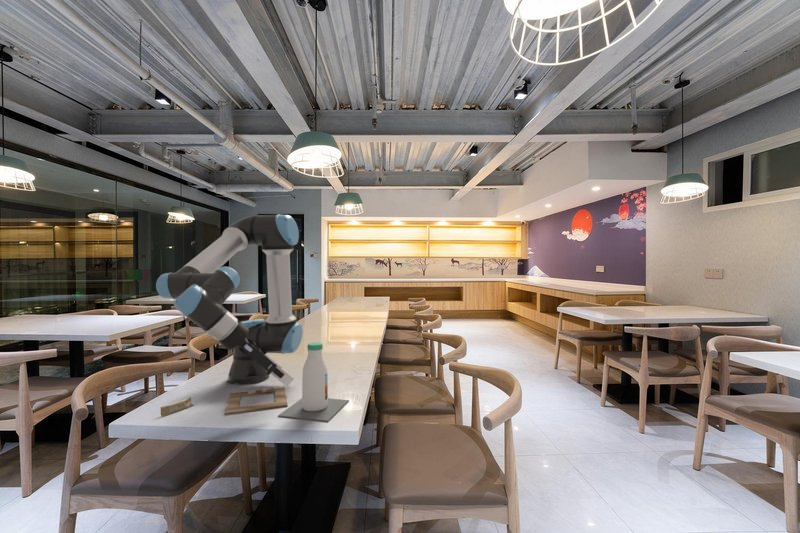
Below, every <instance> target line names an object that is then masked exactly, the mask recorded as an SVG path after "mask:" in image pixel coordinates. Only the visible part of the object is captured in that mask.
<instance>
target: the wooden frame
mask: <svg viewBox="0 0 800 533" xmlns="http://www.w3.org/2000/svg"><path fill="white" fill-rule="evenodd" d="M269 394H274V399H275V402H273V401H272V402H266V403H260V404H252V405H244V406H240V402H241V398H244V397H250V396H252V397H253V396H259V395H269ZM226 404H227V405H226V408H225V412H224V415H225V416H228V415H234V414H242V413H248V412H256V411H258V412H259V411H263V410H271V409H278V408H284V407H285V408H286V407H288V400H287V393H286V386H282V387H281V386H280V387H271V388H263V389H255V390H253V389H252V390H247V391H238V392H237V391H236V392H230V394H229V397H228V400H227V403H226ZM227 414H228V415H227Z"/></svg>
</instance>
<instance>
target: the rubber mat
mask: <svg viewBox="0 0 800 533" xmlns="http://www.w3.org/2000/svg"><path fill="white" fill-rule="evenodd" d="M349 402H350V400H349V399H339V398H329V397H328V403H327V407H326V408H325V409H323V410H320V411H314V412H311V411H305V410H304V409H303V407H302V398H300V399H299V400H297V401H296V402H294V403H293V404H292V405H291V406H289V407H288V408H287V409H285V410H284V411H282V412H281V413H280V414H278V415H277V416H278V418H280V417H281V418H288V419H298V420H305V421H306V420H307V421H313V422H314V421H316V422H325V423H329V422H330V420H332V419H333V418H334V417H335V416H336V415H337V414H338V413H339V412H340V411H341V410H342V409H343V408H344V407H345V406H346V405H347V404H348V403H349Z"/></svg>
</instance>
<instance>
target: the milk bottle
mask: <svg viewBox="0 0 800 533" xmlns="http://www.w3.org/2000/svg"><path fill="white" fill-rule="evenodd" d="M323 348H324V347H323V343H322V342H316V341H315V342H310V343H307V353H308V354H307V357H306V359H305V363H304V365H303V368H302V379H301V381H302V382H301V383H302V384H301V390H302V392H301V399H302V407H303V409H304V410H305V411H311V412H314V411H320V410H323V409H325V408H326V407H327V403H328V398H329V397H328V391H329V390H328V385H329V384H328V378H329V377H328V367H327V364H326V361H325V359H324V357H323V353H322V352H323Z"/></svg>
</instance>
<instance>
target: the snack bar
mask: <svg viewBox="0 0 800 533" xmlns="http://www.w3.org/2000/svg"><path fill="white" fill-rule="evenodd" d="M193 403H194V402H193V401H192V397H191V396H190V397H188V398H185V399H182V400H180V401H177V402H173V403H170V404H166V405H162V406H161V407H160V415H161V418H163V417H165V416H168V415H171V414H174V413H176V412H179V411H183V410H185V409H188V408H192V407H193V406H194V405H195V404H193Z"/></svg>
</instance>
